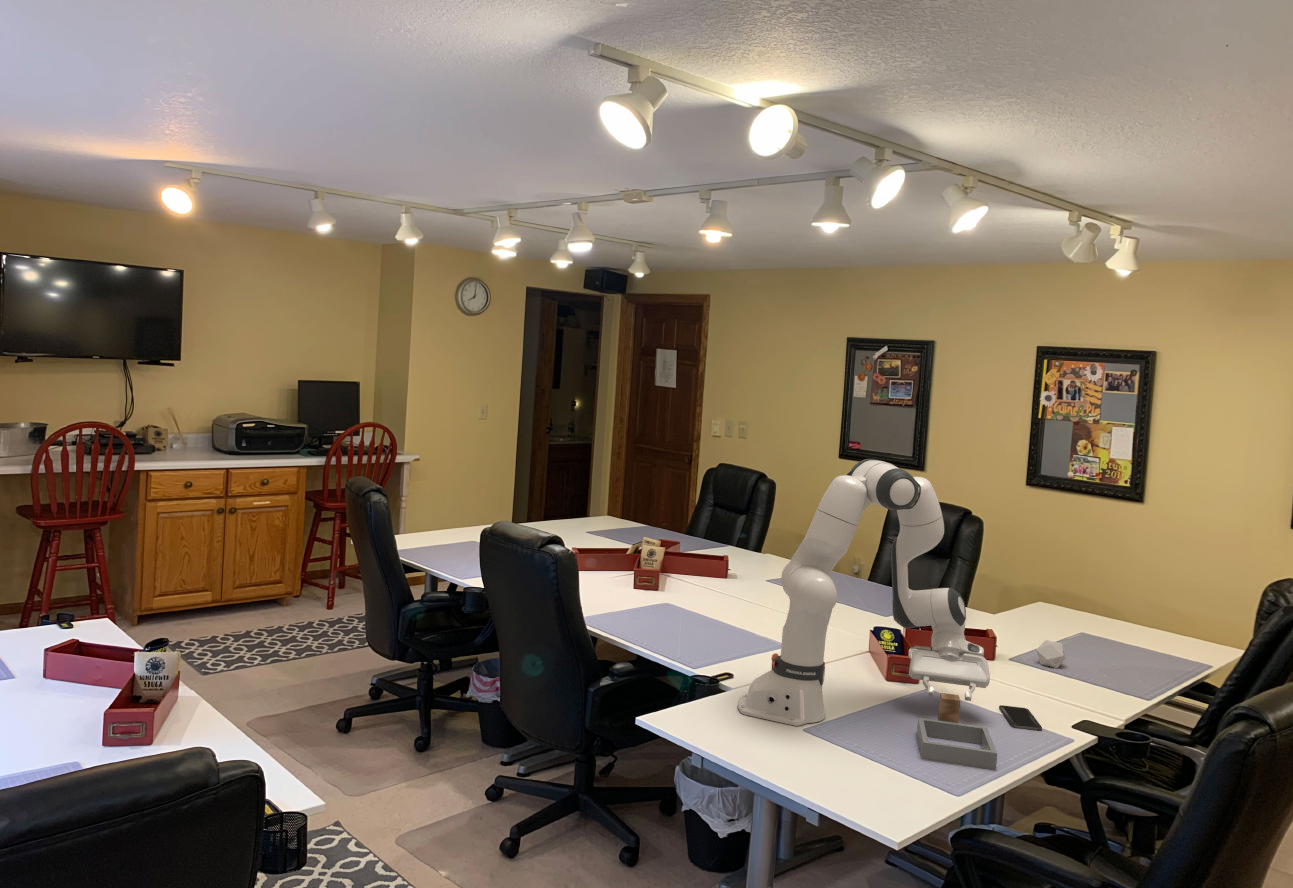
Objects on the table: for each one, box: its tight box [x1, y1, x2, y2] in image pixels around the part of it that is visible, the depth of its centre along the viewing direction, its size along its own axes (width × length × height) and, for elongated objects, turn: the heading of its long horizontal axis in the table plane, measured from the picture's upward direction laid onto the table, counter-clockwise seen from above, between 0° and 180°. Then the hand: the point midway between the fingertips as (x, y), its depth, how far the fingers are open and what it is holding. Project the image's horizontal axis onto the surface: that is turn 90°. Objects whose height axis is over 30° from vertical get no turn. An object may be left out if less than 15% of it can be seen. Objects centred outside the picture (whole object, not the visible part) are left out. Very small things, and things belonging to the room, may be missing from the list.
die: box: [1035, 639, 1067, 669], centre depth 296 cm, size 8×9×10 cm
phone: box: [998, 704, 1043, 732], centre depth 245 cm, size 8×1×15 cm
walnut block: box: [937, 692, 961, 723], centre depth 235 cm, size 4×4×8 cm
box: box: [916, 717, 998, 771], centre depth 220 cm, size 16×16×4 cm
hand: (949, 697), depth 237 cm, fingers open, 8 cm apart
